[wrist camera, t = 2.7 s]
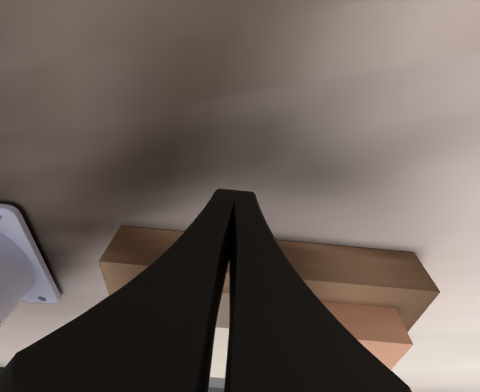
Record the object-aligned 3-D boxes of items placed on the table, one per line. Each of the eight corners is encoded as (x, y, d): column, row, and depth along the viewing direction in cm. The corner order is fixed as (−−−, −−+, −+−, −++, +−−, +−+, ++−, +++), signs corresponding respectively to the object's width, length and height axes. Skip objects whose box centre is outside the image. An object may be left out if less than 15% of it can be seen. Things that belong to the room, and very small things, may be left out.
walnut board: (143, 326, 20) (130, 362, 18) (120, 225, 14) (98, 261, 12) (354, 345, 20) (366, 382, 18) (414, 252, 15) (440, 291, 13)
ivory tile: (147, 337, 16) (136, 370, 15) (135, 284, 13) (120, 319, 12) (230, 344, 16) (227, 378, 15) (236, 293, 13) (233, 329, 12)
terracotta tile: (279, 349, 16) (282, 383, 15) (296, 298, 13) (301, 334, 12) (361, 356, 16) (372, 390, 15) (395, 307, 13) (412, 344, 12)
